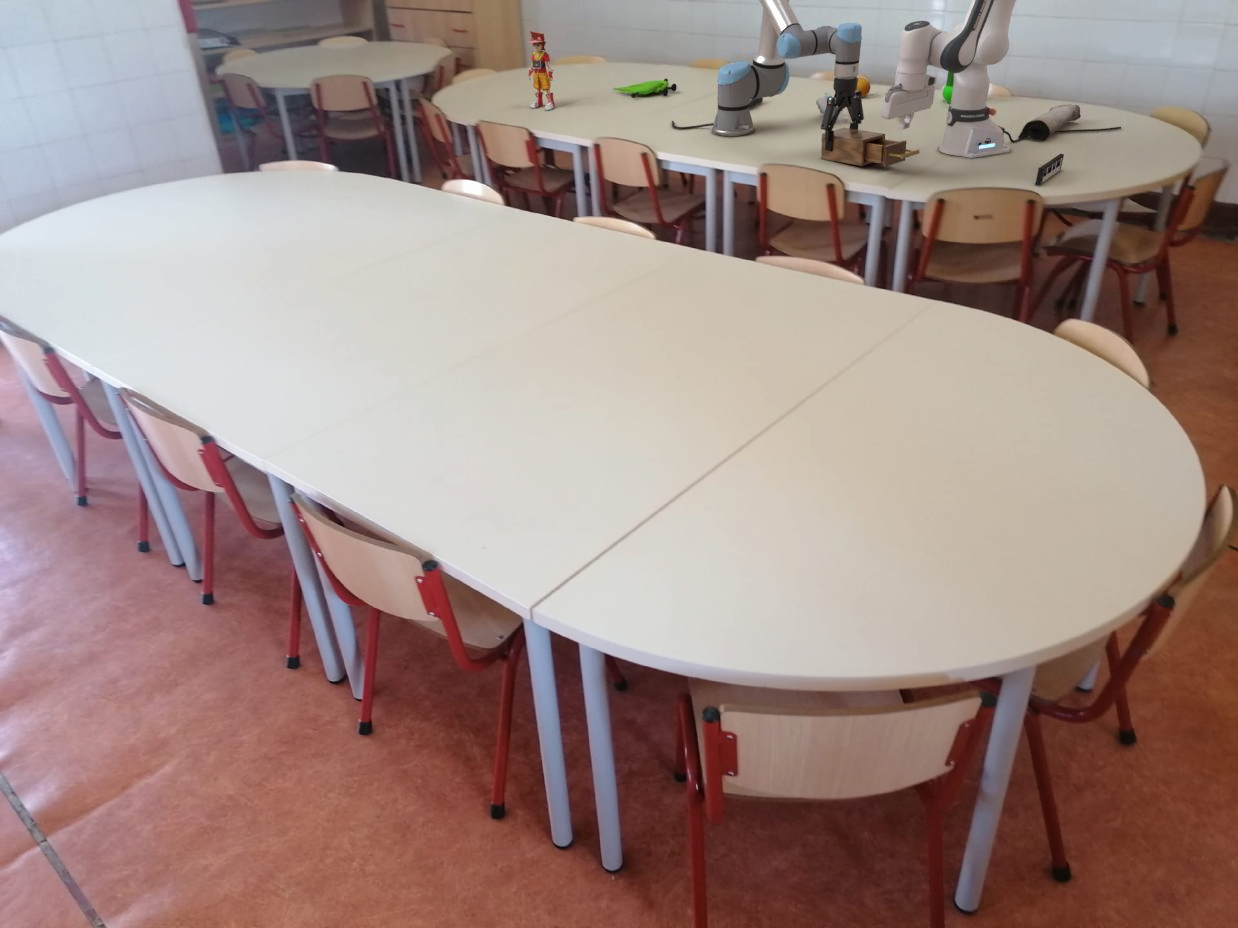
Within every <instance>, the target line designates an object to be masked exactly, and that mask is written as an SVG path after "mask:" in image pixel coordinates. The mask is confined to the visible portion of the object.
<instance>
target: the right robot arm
mask: <svg viewBox="0 0 1238 928" xmlns="http://www.w3.org/2000/svg"><path fill="white" fill-rule="evenodd" d="M1016 3H1017V0H970V5H969V8H968V10H967V13H966V16H965V18H964V21H961V22H959V23H958V24H956V25H955V27H954V28H953V29H952V30H951V32H949V31H943V30H940V29H938V28H936V27H935V26H933V25H932V24H931V22H930V21H928V20H916V21H912V22H909V23H907V24H906V25H905V26H904V27H903V29H902V32H901V35H900V39H899V45H898V50H897V58H898V59H897V60H898V63H897V67H896V69H895V77H894V85H890V86H889V87H888V88H887V89H886V91H885V93H884V95H883V98H882V102H881V107H880V114H879V115H880V117H881V119H885V120H889V121H890V120H893V119H896V118H897V121H898V129H899V130H900V131H904V130H907V129H910V127H911V122H912V120H913V119H914V116H915V113H918V112H921V111H925V110H929V109H931V107H932V106H933V104H934V100H935V99H934V98H935V93H936V92H935V91H936V89H935V88H936V87H935V85H936V83H937V76H933V75H929V74H927V72H928V66H930V67H934V68H938V69H942V70H945V71H947V72H948V71H949V72H952V73H954V84H953V91H952V98H951V103H950V105H948V110H947V115H946V127H945V131H944V133H943V137H942V140H941V142H940V144H939V147H938V151H939V152H941V153H943V154H945V155H949V156H954V157H955V156H956V157H964V158H970V159H975V158H980V157H988V156H994V155H1000V154H1001V155H1002V154H1007V153H1010V150H1011V149H1010V146H1009V145H1008V144H1007V143H1005V135H1007V136H1008V139H1009V141H1010V143H1018V142H1020V141H1022V140H1024V139H1026V138H1029V137H1028V136H1024V137H1021V138H1020V139H1016V140H1014V139H1012V135H1011V133H1009V131H1007V130H1006V128H1005V127H1002V126H1000V125H997V123H995V122H994V121H993V120H992V119H991V118H990V116H991V117H994V116H995V115H997V110H996V109H995V108H993V107H991V108H990V107H989V106H987V102H988V95H989V90H990V85H991V80H990V76H989V74H988V66H993V65H996V64H998V63H1000V62H1002V60H1003V59H1004V58H1005V57H1006V56H1007V54H1008V52H1009V48H1010V39H1009V30H1010V25H1011V20H1012V19H1011V18H1012V15H1013V11H1014V7H1015V5H1016ZM1121 129H1122V126H1116V127H1114V126H1113V127H1104V128H1088V129H1086V128H1085V129H1060V130H1059V129H1057V130H1056V131H1055V132H1054V133H1053V134H1057V133H1083V132H1087V133H1088V132H1106V131H1113V130H1114V131H1115V130H1121Z"/></svg>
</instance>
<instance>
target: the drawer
mask: <svg viewBox="0 0 1238 928" xmlns="http://www.w3.org/2000/svg"><path fill="white" fill-rule="evenodd" d="M919 154H920V150H919V149H915V150H914V149H907V140H899V141H898V140H893V139H886V138H885V139H880V138H879V139H876V140H873V141H869V142H866V143H865V151H864V160H865V161H870V162H873V163H876V164H882V167H888V166H889V167H890V166H892V165H894V164H898V163H902V162H905V161H906V158H910V157H913V156H916V155H919Z"/></svg>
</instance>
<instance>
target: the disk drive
mask: <svg viewBox="0 0 1238 928" xmlns="http://www.w3.org/2000/svg"><path fill="white" fill-rule="evenodd" d="M763 100H764V97H763V98H757V99H751V100H749V110H750V109H752V108H753V107H755V106H757V105H759V104H761V103H762V102H763Z"/></svg>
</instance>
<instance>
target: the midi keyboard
mask: <svg viewBox="0 0 1238 928" xmlns="http://www.w3.org/2000/svg"><path fill="white" fill-rule="evenodd" d="M1064 157H1065V153H1059V154H1058V155H1056V156H1055V157H1052V159H1051V160H1049V161H1047V162H1045V164H1042V165H1041V166H1039V167H1038V169H1037V175H1036V179H1035V186H1040V185H1042V183H1044V182H1045V181H1047V180H1048V179H1049V178H1051V177H1052V176H1054V175H1055V174H1056V173H1058V172H1060V171H1061V170H1062V165H1063V161H1064Z"/></svg>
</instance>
